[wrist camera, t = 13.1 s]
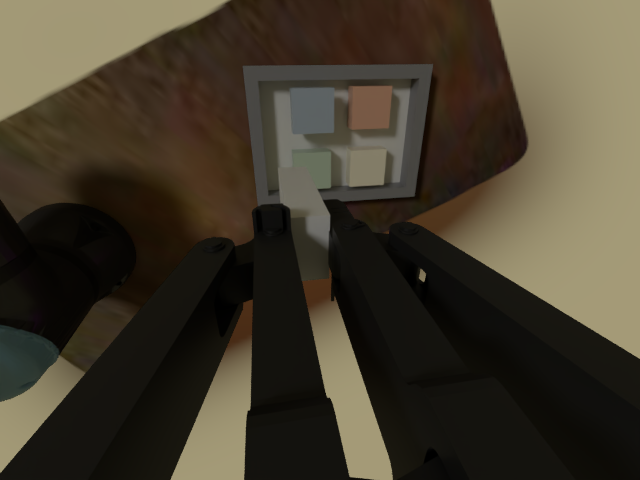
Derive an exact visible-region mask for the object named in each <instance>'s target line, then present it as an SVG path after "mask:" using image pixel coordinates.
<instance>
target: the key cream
mask: <svg viewBox="0 0 640 480" xmlns="http://www.w3.org/2000/svg"><path fill="white" fill-rule="evenodd" d="M386 153H387V149H386V148H384V147H383V146H381V145H379V146H357V147H347V150H346V183H347V184H348V186H349V187H355V186H371V185H384V175H385V164H386Z"/></svg>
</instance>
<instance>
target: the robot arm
mask: <svg viewBox="0 0 640 480" xmlns="http://www.w3.org/2000/svg"><path fill="white" fill-rule="evenodd" d="M278 175H279V191H280V203H278V204H262V205H260V206H258V207H256V208H255V209H253V211H252V217H253V226H254V239H252V240H251V241H250V242H247V243H245V244H242V245H239V246H235V245H234V242H233V241H232V240H230V239H228V238H222V237H217V238H216V237H212V238H208V239H205V240H203V241H201V242H199V243H197V244H196V245H195V246H194V247H193V248H192V249H191V250H190V252H189V253H188V254H187V255H186V256H185V257H184V259H183V260H182V261H181V262H180V263H179V265H178V266H177V267H176V268H175V269H174V270H173V272H172V273H171V274H170V275H169V276H168V277H167V279H166V280H165V281H164V282H163V283H162V284H161V286H160V287H159V288H158V289H157V290H156V291H155V293H154V294H153V295H152V296H151V297H150V299H149V300H148V301H147V302H146V303H145V304H144V306H143V307H142V308H141V309H140V310H139V311H138V313H137V314H136V315H135V316H134V317H133V318H132V320H131V321H130V322H129V323H128V324H127V325H126V327H125V328H124V329H123V330H122V331H121V332H120V334H119V335H118V336H117V337H116V338H115V340H114V341H113V342H112V343H111V344H110V345H109V347H108V348H107V349H106V350H105V351H104V352H103V354H102V355H101V356H100V357H99V358H98V359H97V361H96V362H95V363H94V364H93V365H92V366H91V368H90V369H89V370H88V371H87V372H86V373H85V375H84V376H83V377H82V378H81V379H80V381H79V382H78V383H77V384H76V386H75V387H74V388H73V389H72V390H71V391H70V392H69V393H68V395H67V396H66V397H65V398H64V399H63V401H62V402H61V403H60V404H59V405H58V406H57V408H56V409H55V410H54V411H53V412H52V413H51V415H50V416H49V417H48V418H47V419H46V420H45V422H44V423H43V424H42V425H41V426H40V427H39V429H38V430H37V431H36V432H35V433H34V434H33V436H32V437H31V438H30V439H29V440H28V441H27V443H26V444H25V445H24V446H23V447H22V448H21V450H20V451H19V452H18V453H17V454H16V455H15V457H14V458H13V459H12V460H11V461H10V463H9V464H8V465H7V466H6V467H5V468H4V470H3V471H2V472H1V473H0V480H170V479H171V476H172V475H173V472H174V470H175V468H176V465H177V463H178V461H179V458H180V456H181V453H182V451H183V449H184V446H185V444H186V442H187V439H188V437H189V435H190V432H191V430H192V428H193V425H194V423H195V421H196V418H197V416H198V413H199V411H200V409H201V406H202V404H203V402H204V399H205V397H206V395H207V392H208V390H209V388H210V385H211V383H212V381H213V378H214V376H215V373H216V371H217V368H218V366H219V364H220V362H221V359H222V357H223V355H224V352H225V350H226V347H227V344H228V343H229V341H230V338H231V336H232V333H233V331H234V329H235V326H236V324H237V322H238V319H239V317H240V315H241V312H242V310H243V302H246V301H249V300H252V299H253V322H252V373H251V375H252V376H251V409H250V411H248V413H247V421H246V443H245V445H246V446H245V474H244V480H371V479H363V478H352V477H349V473H348V468H347V464H346V459H345V455H344V451H343V446H342V442H341V437H340V433H339V429H338V425H337V420H336V415H335V411H334V408H333V404H332V401H331V399H330V398H327V396H326V393H325V389H324V384H323V379H322V374H321V369H320V365H319V360H318V356H317V350H316V346H315V341H314V336H313V331H312V327H311V322H310V317H309V312H308V308H307V303H306V299H305V294H304V289H303V284H302V281H305V280H316V279H327V278H329V267H330V270H331V273H332V283H331V301H334V296H335V297H336V300H337V303H338V306H339V309H340V312H341V315H342V318H343V321H344V324H345V327H346V330H347V333H348V336H349V339H350V342H351V345H352V348H353V351H354V354H355V357H356V360H357V363H358V366H359V369H360V372H361V375H362V378H363V381H364V384H365V387H366V390H367V393H368V396H369V398H370V401H371V405H372V407H373V411H374V414H375V417H376V419H377V423H378V425H379V429H380V431H381V434H382V438H383V440H384V443H385V447H386V449H387V452H388V455H389V459H390V463H391V468H392V475H393V480H640V359H639V358H637V357H636V356H634V355H632V354H631V353H629V352H627V351H626V350H624V349H623V348H621V347H619V346H618V345H616V344H614V343H613V342H611V341H609V340H608V339H606V338H604V337H602V336H601V335H599V334H598V333H596V332H594V331H593V330H591V329H590V328H588V327H586V326H585V325H583V324H581V323H580V322H578V321H577V320H575V319H573V318H572V317H570V316H568V315H566V314H565V313H563V312H562V311H560V310H558V309H557V308H555V307H553V306H552V305H550V304H549V303H547V302H545V301H544V300H542V299H540V298H538V297H537V296H535V295H534V294H532V293H530V292H529V291H527V290H526V289H524V288H522V287H521V286H519V285H517V284H516V283H514V282H512V281H511V280H509V279H508V278H506V277H504V276H503V275H501V274H499V273H498V272H496V271H494V270H493V269H491V268H489V267H488V266H486V265H485V264H483V263H481V262H480V261H478V260H476V259H475V258H473V257H471V256H470V255H468V254H466V253H465V252H463V251H462V250H460V249H458V248H457V247H455V246H453V245H452V244H450V243H448V242H447V241H445V240H443V239H442V238H440V237H439V236H437V235H435V234H434V233H432V232H430V231H429V230H427V229H425V228H424V227H422V226H420V225H417V224H413V223H411V222H401V223H395V224H392V225H391V226H390V229H389V234H384V233H374V232H372V231H371V229H370V228H369V226H368V225H367V224H366V223H365V222H363V221H360V220H357V219H354V217H353V216H352V214H351V213H350V212H349V210H348V208H347V207H346V205H345V204H344V202H342V201H340V200H338V199H329V200H322V198H321V196H320V194H319V192H318V190H317V188H316V185H315V183H314V181H313V179H312V177H311V175H310V173H309V171H308V169H307V167H306V166H305V167H283V168H278ZM135 261H136V252H135V247H134V244H133V242H132V240H131V238H130V236H129V235H128V233H127V232H126V231H125V229H124V228H123V227H122V226H121V225H120V224H119V223H118V222H116V221H115V220H114V219H112V218H111V217H110V216H108V215H106V214H105V213H103V212H101V211H99V210H96V209H94V208H91V207H88V206H84V205H80V204H73V203H56V204H51V205H47V206H44V207H41V208H39V209H37V210H35V211H34V212H32V213H30V214H29V215H27V216H26V217H24V218H23V219H22V220H21V221H20V222H19V223H18V224H17V223H16V221H15V220H14V218H13V217H12V216H11V214H10V213H9V211H8V210H7V208H6V207H5V205H4V204H3V202H2V201H1V200H0V402H1V401H5V400H8V399H11V398H14V397H16V396H18V395H20V394H22V393H24V392H25V391H27V390H28V389H30V388H31V387H32V386H33V385H34V384H35V383H36V382H37V381H38V380H39V379H40V378H41V376H42V375H43V374H44V373H45V371H46V370H47V369H48V368H49V367H50V366H51V365H53V364H54V363H55V362H56V360H57V358H58V356H59V355H60V353H61V352H62V350H63V349H64V347H65V346H66V344H67V343H68V341H69V340H70V338H71V337H72V336H73V334H74V333H75V331H76V330H77V328H78V327H79V325H80V324H81V322H82V321H83V319H84V318H85V316H86V315H87V314H88V312H89V311H90V309H91V308H92V306H93V305H94V304H95V303H96V302H98V301H100V300H101V299H103V298H104V297H106V296H108V295H109V294H111V293H112V292H114V291H116V290H117V289H118V288H120V287H121V286H122V285H123V284H124V283H125V281H126V280H127V279H128V277H129V275H130V274H131V272H132V270H133V268H134V266H135ZM420 269H422V270H423V271H424V272H425V273H426V278H425V281H424V282H422V281H421V280H420V279H419V274H420Z"/></svg>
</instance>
